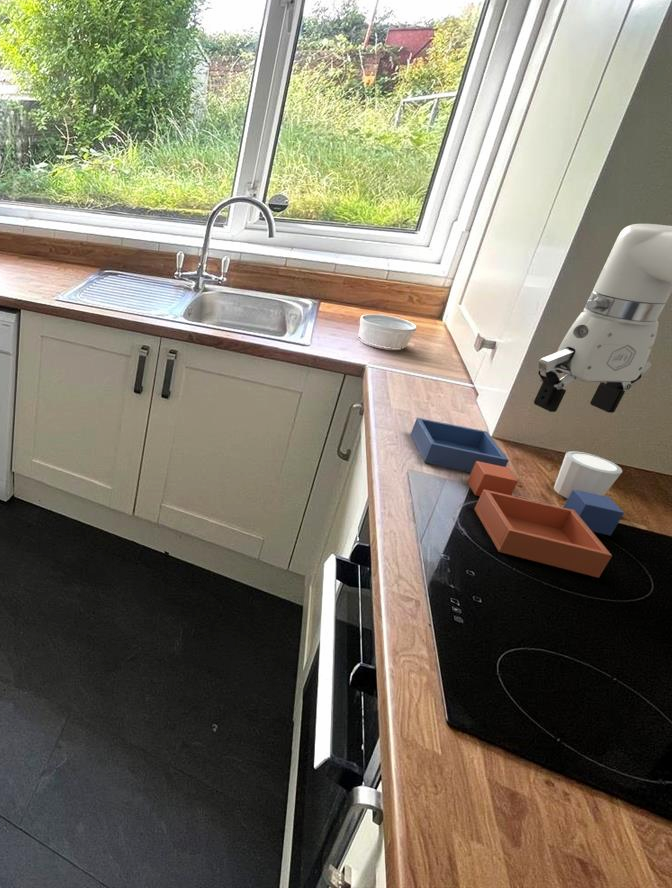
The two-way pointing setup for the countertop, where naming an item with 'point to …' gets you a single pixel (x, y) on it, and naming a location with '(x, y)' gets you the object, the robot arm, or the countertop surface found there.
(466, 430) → the blue bin
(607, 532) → the blue block
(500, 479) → the terracotta block
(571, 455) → the white cylinder
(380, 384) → the countertop surface
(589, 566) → the terracotta bin
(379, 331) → the ramekin
